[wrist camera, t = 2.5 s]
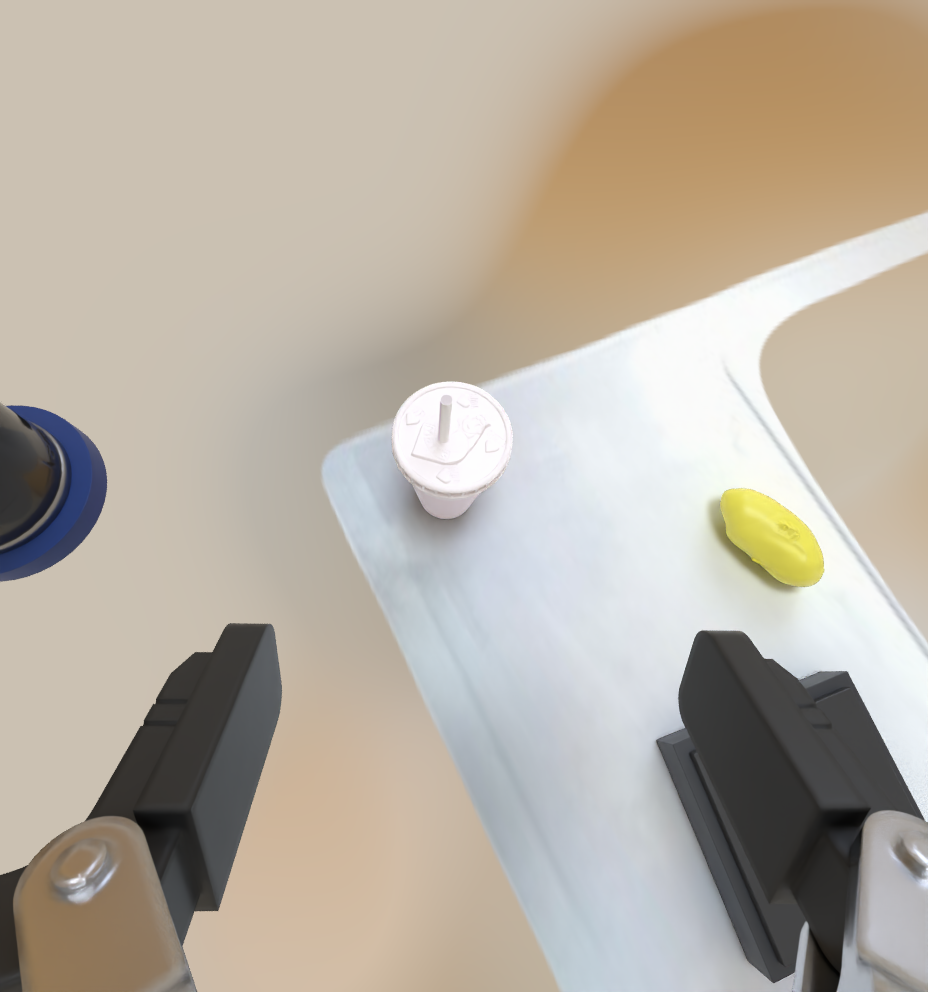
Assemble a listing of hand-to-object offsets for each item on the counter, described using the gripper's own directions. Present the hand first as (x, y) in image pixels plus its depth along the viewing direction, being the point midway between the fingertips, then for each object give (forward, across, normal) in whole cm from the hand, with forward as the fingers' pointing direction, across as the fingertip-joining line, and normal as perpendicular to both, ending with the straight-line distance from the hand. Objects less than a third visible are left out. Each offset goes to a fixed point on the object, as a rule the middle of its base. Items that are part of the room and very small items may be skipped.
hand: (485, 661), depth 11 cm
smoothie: (+26, 0, +10) cm, 28 cm away
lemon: (+24, -21, +12) cm, 34 cm away
